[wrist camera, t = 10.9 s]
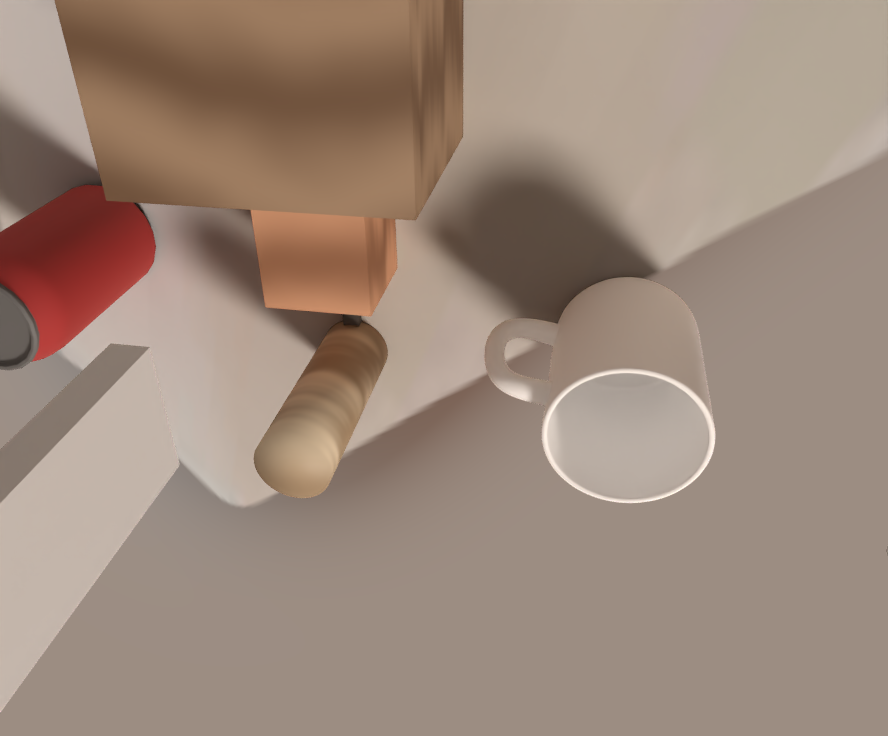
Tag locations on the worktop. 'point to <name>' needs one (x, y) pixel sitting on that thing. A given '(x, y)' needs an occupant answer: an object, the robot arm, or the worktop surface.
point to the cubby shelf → (270, 101)
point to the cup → (617, 390)
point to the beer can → (67, 270)
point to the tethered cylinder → (345, 345)
